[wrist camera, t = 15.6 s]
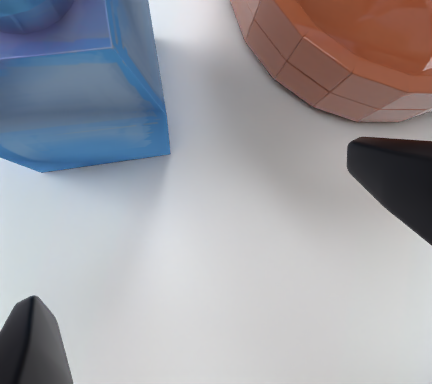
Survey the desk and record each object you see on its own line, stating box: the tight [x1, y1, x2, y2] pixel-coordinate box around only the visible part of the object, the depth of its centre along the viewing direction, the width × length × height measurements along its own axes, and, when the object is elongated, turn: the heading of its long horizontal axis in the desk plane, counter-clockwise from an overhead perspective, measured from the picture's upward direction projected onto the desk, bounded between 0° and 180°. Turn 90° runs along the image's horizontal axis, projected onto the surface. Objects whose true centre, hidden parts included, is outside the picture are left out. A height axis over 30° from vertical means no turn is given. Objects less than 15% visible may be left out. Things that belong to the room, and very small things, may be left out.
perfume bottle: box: [0, 0, 170, 173], centre depth 11 cm, size 6×6×12 cm
